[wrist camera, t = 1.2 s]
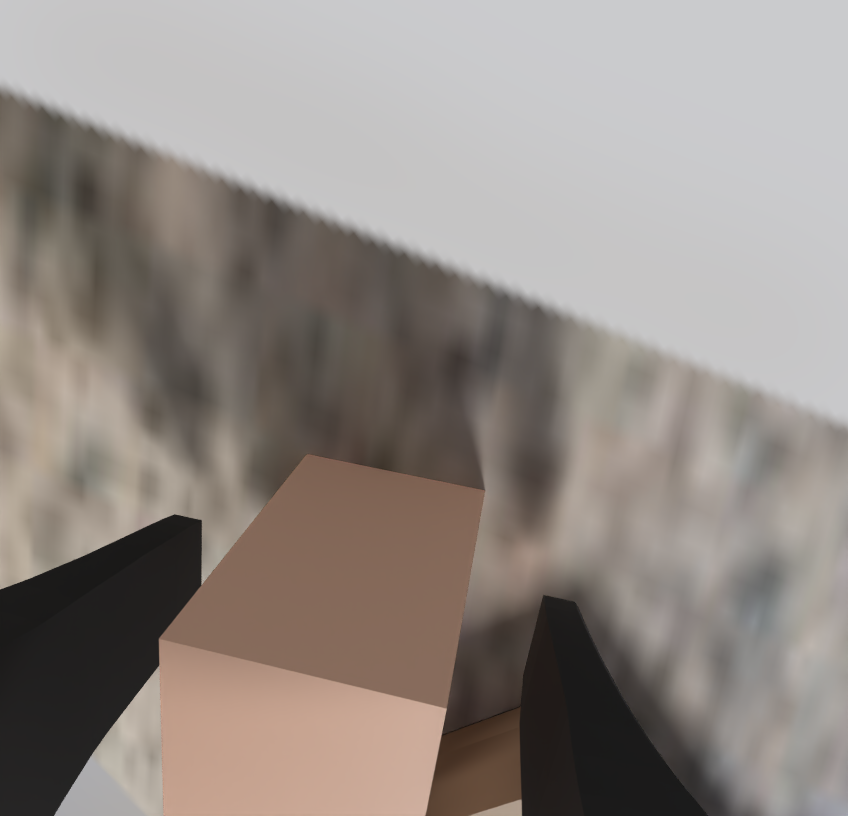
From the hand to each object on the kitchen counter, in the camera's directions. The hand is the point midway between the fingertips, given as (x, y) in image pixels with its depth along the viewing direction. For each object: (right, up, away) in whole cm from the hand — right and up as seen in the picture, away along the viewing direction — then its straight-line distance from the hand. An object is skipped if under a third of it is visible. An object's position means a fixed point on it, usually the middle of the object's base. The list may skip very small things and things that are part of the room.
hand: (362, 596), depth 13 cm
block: (0, +1, +2) cm, 2 cm away
